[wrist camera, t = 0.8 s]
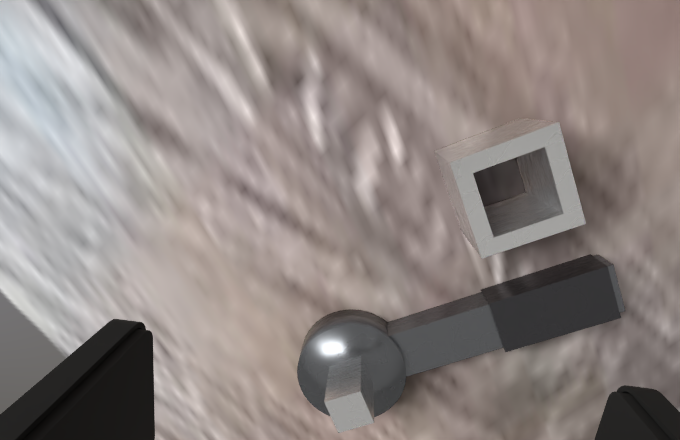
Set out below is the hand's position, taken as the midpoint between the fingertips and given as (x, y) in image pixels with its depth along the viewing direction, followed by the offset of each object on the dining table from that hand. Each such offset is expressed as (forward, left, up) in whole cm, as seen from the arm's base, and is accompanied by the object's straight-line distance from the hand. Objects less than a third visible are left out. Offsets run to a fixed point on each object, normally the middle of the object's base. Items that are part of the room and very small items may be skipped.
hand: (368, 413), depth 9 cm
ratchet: (-2, +12, -23) cm, 26 cm away
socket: (-8, +2, -23) cm, 24 cm away
